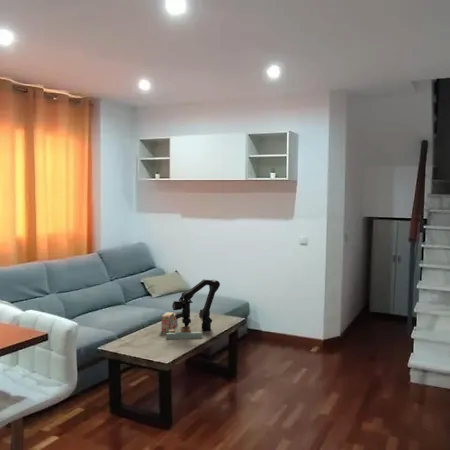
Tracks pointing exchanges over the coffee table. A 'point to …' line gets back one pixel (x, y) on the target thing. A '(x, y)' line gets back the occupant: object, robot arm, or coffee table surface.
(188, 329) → the walnut brick
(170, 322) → the stack of blocks
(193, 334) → the board
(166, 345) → the coffee table surface
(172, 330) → the oak cube
